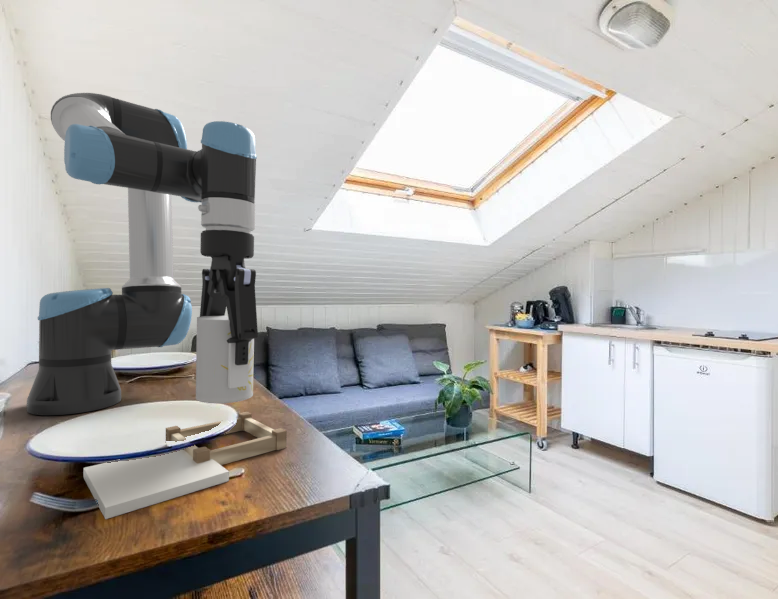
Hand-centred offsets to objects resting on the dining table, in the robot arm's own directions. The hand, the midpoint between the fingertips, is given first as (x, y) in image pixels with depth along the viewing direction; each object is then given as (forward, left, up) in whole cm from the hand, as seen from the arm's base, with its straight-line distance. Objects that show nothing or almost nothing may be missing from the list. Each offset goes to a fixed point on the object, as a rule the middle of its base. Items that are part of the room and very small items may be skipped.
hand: (225, 380), depth 64 cm
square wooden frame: (0, 0, -10) cm, 10 cm away
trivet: (+5, -11, -10) cm, 16 cm away
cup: (0, 0, -3) cm, 3 cm away
